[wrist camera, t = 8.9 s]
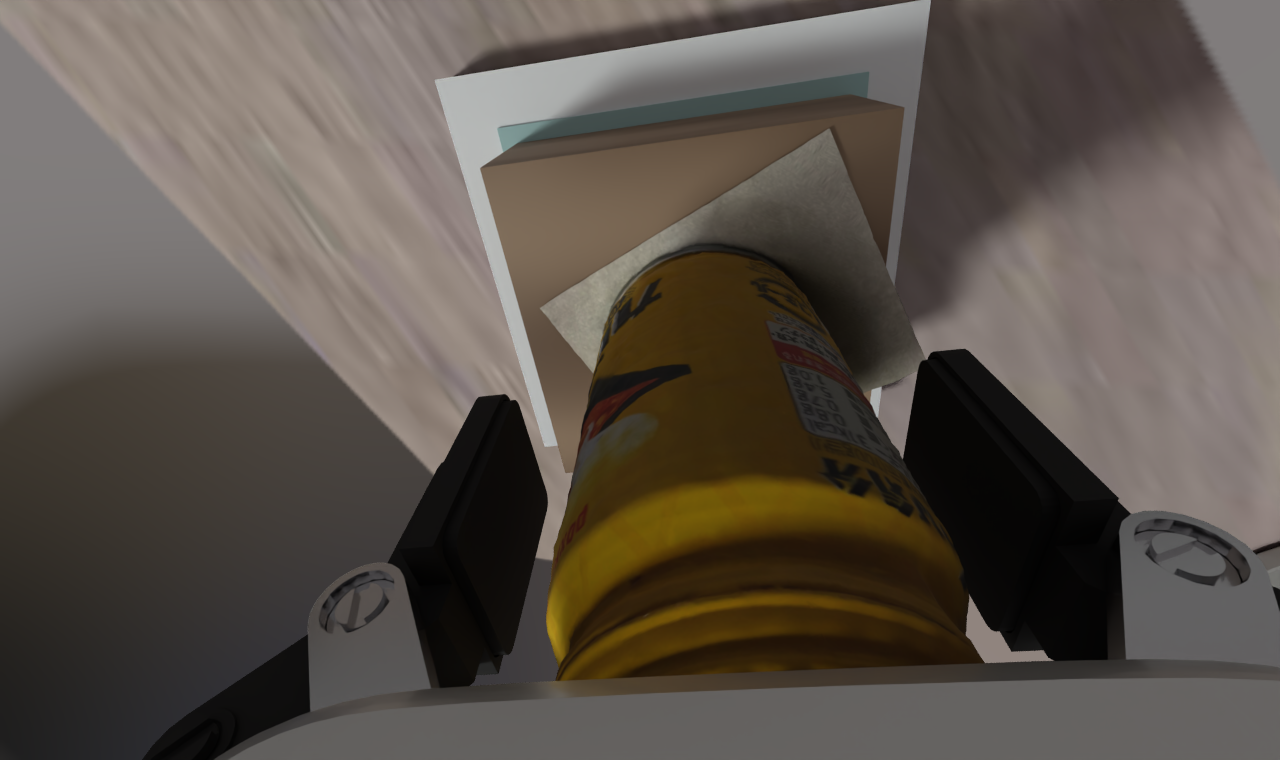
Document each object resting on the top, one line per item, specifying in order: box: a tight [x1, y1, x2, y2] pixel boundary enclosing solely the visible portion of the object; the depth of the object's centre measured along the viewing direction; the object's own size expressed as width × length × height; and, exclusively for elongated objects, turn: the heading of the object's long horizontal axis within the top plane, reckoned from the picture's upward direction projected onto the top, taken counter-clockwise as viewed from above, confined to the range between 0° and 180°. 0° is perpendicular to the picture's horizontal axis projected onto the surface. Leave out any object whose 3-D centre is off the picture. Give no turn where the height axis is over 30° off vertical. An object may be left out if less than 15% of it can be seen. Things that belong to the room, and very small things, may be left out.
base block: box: [480, 94, 905, 473], centre depth 17 cm, size 10×10×4 cm
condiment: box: [540, 129, 985, 681], centre depth 10 cm, size 7×8×12 cm
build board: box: [435, 0, 931, 447], centre depth 19 cm, size 14×14×2 cm
